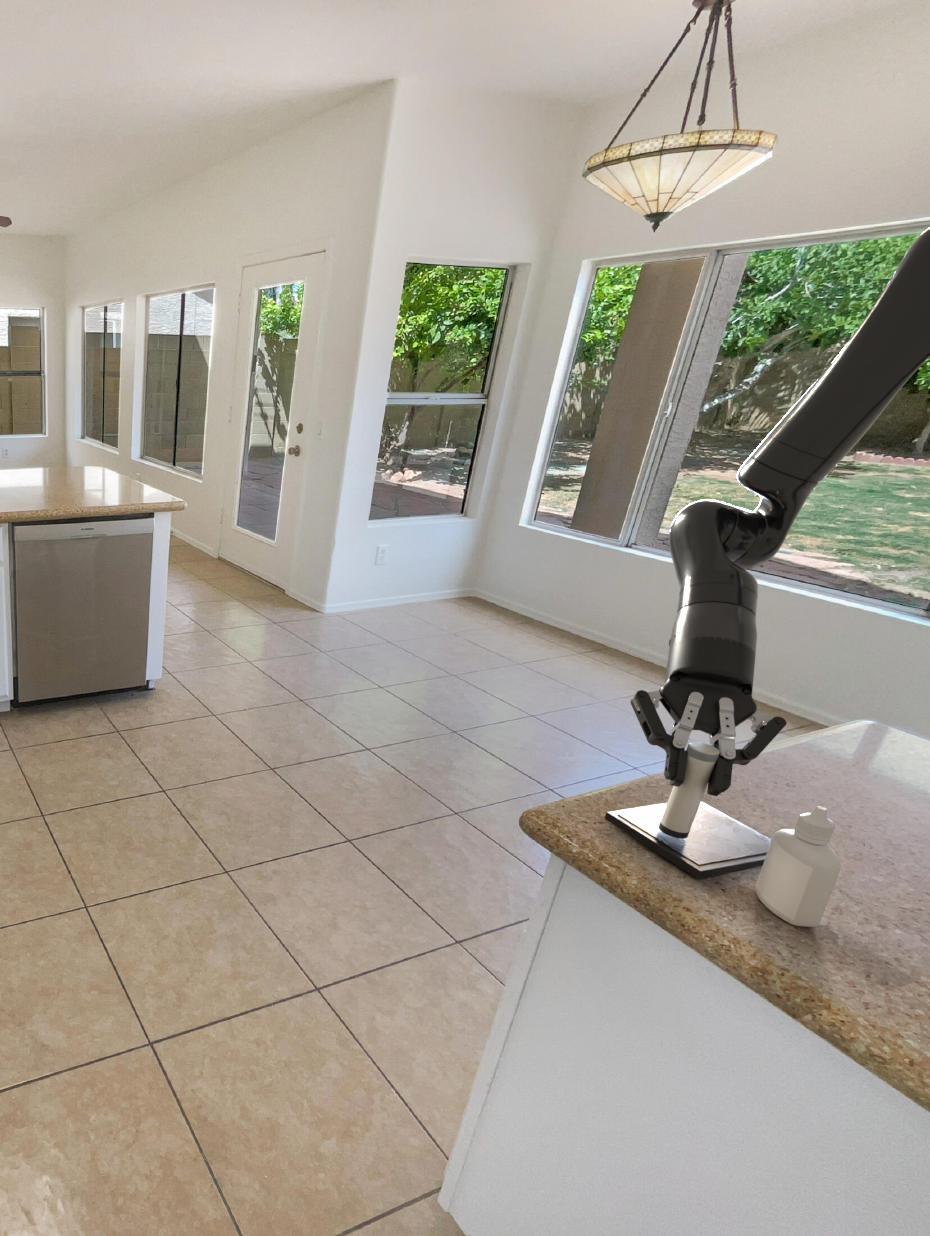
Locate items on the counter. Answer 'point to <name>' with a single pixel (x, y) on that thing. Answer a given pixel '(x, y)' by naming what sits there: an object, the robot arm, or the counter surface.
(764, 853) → the tablet
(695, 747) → the stylus
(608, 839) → the counter surface
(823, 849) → the eye dropper bottle
